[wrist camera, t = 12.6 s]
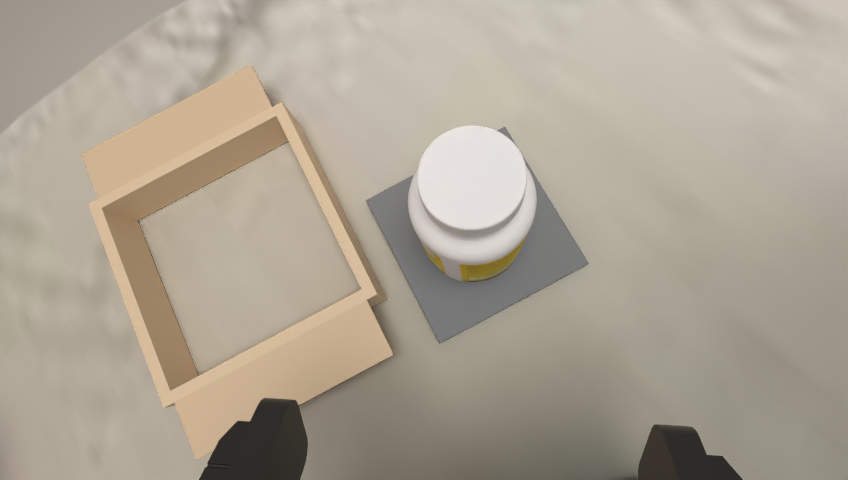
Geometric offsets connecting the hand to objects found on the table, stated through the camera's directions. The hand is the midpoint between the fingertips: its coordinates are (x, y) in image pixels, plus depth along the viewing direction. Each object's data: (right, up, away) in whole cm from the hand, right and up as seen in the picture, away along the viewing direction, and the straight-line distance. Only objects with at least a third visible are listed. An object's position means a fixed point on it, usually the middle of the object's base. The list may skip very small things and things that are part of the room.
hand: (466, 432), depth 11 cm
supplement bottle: (+2, +5, +16) cm, 17 cm away
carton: (-11, +3, +17) cm, 21 cm away
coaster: (+2, +5, +16) cm, 17 cm away
